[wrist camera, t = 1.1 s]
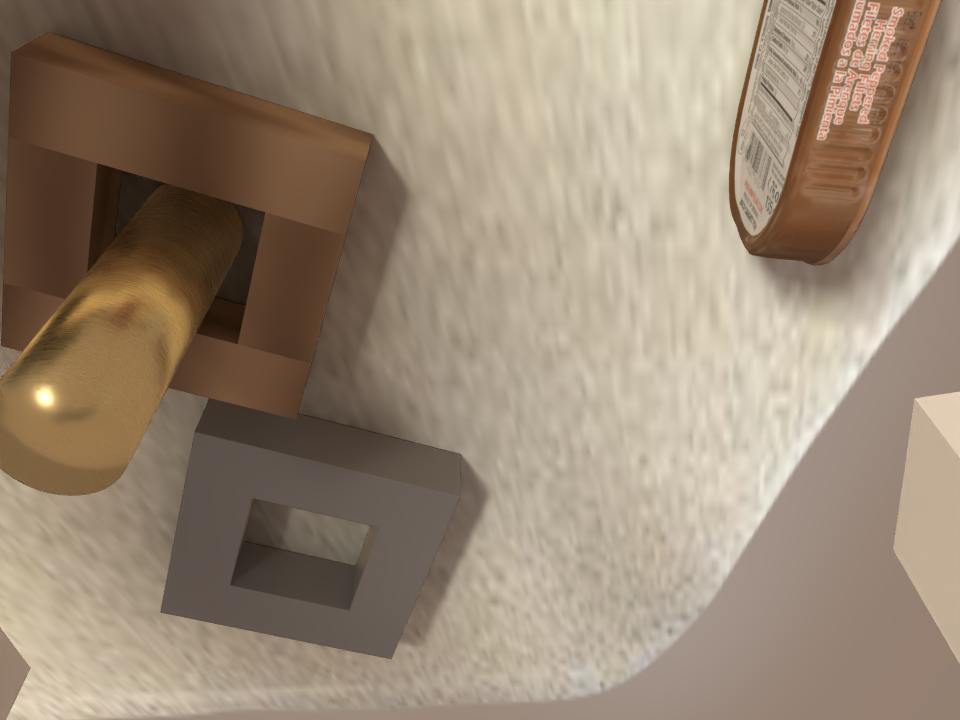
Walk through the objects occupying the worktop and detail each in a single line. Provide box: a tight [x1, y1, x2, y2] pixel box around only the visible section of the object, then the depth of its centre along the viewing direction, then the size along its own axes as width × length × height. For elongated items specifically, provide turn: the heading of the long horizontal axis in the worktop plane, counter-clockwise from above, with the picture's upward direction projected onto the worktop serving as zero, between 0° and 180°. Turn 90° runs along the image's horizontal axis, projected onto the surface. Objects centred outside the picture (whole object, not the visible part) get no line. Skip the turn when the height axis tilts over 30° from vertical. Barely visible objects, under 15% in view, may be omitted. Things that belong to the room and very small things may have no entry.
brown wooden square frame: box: [1, 33, 373, 419], centre depth 34 cm, size 12×12×3 cm
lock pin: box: [0, 183, 243, 496], centre depth 29 cm, size 4×4×14 cm
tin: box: [729, 0, 942, 265], centre depth 27 cm, size 15×3×8 cm, turn 175°
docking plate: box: [161, 398, 461, 659], centre depth 42 cm, size 12×12×3 cm
